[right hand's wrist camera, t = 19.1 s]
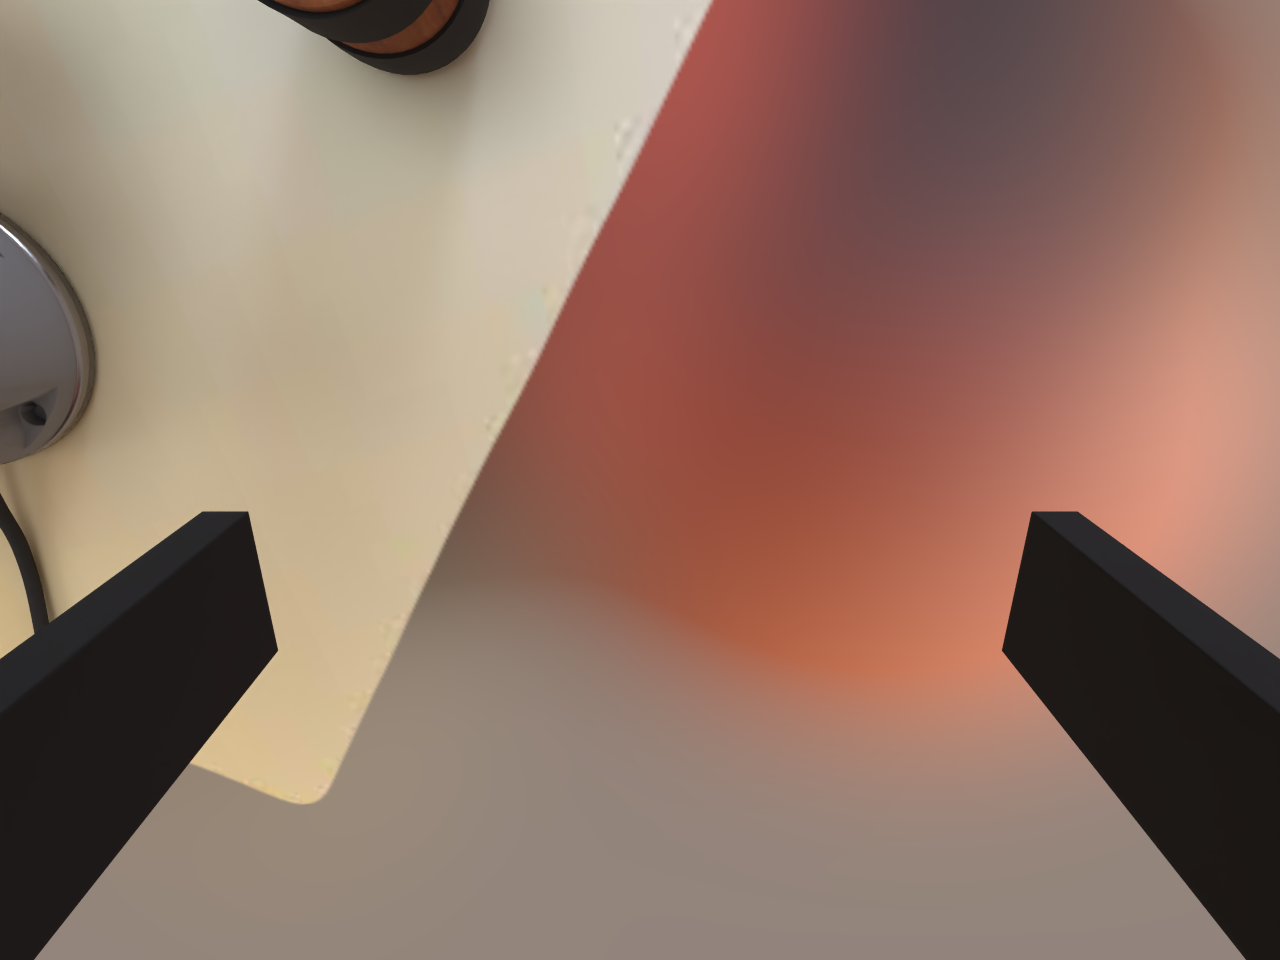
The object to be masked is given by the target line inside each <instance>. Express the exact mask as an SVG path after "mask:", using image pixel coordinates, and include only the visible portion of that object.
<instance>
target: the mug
mask: <svg viewBox="0 0 1280 960" xmlns="http://www.w3.org/2000/svg"><path fill="white" fill-rule="evenodd" d="M258 1H260V2H262V3H263V4H265V5H267V6H268V7H270V8H272V9H274V10H276V11H278V12H280V13H282V14H284V15H285V16H287V17H289V18H291V19H292V20H294V21H295V22H297V23H299V24H300V25H302V26H304V27H305V28H307V29H309V30H310V31H312V32H314V33H316V34H319V35H321V36H323V37H326V38H327V39H328V40H329V41H331V42H332V43H333V44H335V45H336V46H338V47H339V48H340V49H342V50H343V51H345V52H346V53H348V54H350V55H351V56H353V57H355V58H356V59H358V60H360V61H362V62H364V63H366V64H368V65H370V66H373V67H375V68H377V69H380V70H384V71H387V72H390V73H396V74H403V75H416V74H422V73H428V72H431V71H434V70H437V69H439V68H441V67H443V66H446V65H448V64H449V63H450V62H452V61H453V60H455V59H456V58H458V57H459V56H460V55H461V54H462V53H463V52H464V51H465V50H466V49H467V48H468V46H469V45H470V44H471V43H472V41H473V40H474V38H475V37H476V35H477V33H478V32H479V30H480V28H481V26H482V23H483V21H484V19H485V16H486V12H487V9H488V5H489V0H258Z"/></svg>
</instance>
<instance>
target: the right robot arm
mask: <svg viewBox="0 0 1280 960" xmlns="http://www.w3.org/2000/svg"><path fill="white" fill-rule="evenodd" d="M94 373H95V356H94V348H93V341H92V337H91V332H90V328H89V325H88V322H87V319H86V316H85V314H84V311H83V309H82V307H81V304H80V302H79V300H78V298H77V296H76V294H75V292H74V290H73V289H72V287H71V285H70V284H69V282H68V280H67V279H66V277H65V276H64V274H63V273H62V272H61V270H60V269H59V268H58V266H57V265H56V263H55V262H54V261H53V260H52V259H51V257H50V256H49V255H48V254H47V253H46V252H45V251H44V249H43V248H42V247H41V246H40V245H39V244H38V243H37V242H36V241H35V240H34V239H33V238H32V237H30V236H29V235H28V234H27V233H26V232H25V231H23V230H22V229H21V228H20V227H19V226H18V225H16V224H15V223H13V222H12V221H11V220H9V219H8V218H7V217H5V216H4V215H2V214H1V213H0V464H5V463H9V462H12V461H16V460H19V459H21V458H24V457H26V456H29V455H31V454H33V453H36V452H38V451H40V450H43V449H45V448H47V447H49V446H50V445H52V444H54V443H55V442H57V441H58V440H60V439H61V438H63V437H64V436H65V435H66V434H67V433H68V432H69V431H70V430H71V429H72V428H73V427H74V426H75V424H76V423H77V422H78V420H79V419H80V417H81V416H82V414H83V413H84V410H85V408H86V406H87V404H88V402H89V398H90V395H91V392H92V387H93V382H94ZM0 528H1V530H2V531H3V533H4V534H5V536H6V538H7V540H8V542H9V544H10V546H11V548H12V550H13V553H14V555H15V558H16V561H17V563H18V566H19V569H20V572H21V575H22V579H23V582H24V586H25V590H26V594H27V598H28V603H29V607H30V612H31V617H32V623H33V628H34V633H35V634H34V635H33V636H31V637H30V638H28V639H27V640H26V641H24V642H23V643H22V644H20V645H19V646H17V647H16V648H15V649H13V650H12V651H11V652H9V653H8V654H6V655H5V656H4V657H2V658H1V659H0V960H34V959H35V958H36V956H37V955H38V954H39V953H40V951H41V950H42V949H43V948H44V946H45V945H46V944H47V943H48V941H49V940H50V939H51V937H52V936H53V935H54V934H55V932H56V931H57V930H58V929H59V927H60V926H61V925H62V924H63V922H64V921H65V920H66V918H67V917H68V916H69V915H70V913H71V912H72V911H73V910H74V908H75V907H76V906H77V905H78V903H79V902H80V901H81V899H82V898H83V897H84V896H85V894H86V893H87V892H88V891H89V889H90V888H91V887H92V886H93V884H94V883H95V882H96V880H97V879H98V878H99V877H100V875H101V874H102V873H103V872H104V870H105V869H106V868H107V867H108V865H109V864H110V863H111V862H112V860H113V859H114V858H115V856H116V855H117V854H118V853H119V851H120V850H121V849H122V848H123V846H124V845H125V844H126V842H127V841H128V840H129V839H130V837H131V836H132V835H133V834H134V832H135V831H136V830H137V829H138V827H139V826H140V825H141V824H142V822H143V821H144V820H145V818H146V817H147V816H148V815H149V813H150V812H151V811H152V810H153V808H154V807H155V806H156V805H157V803H158V802H159V801H160V799H161V798H162V797H163V796H164V794H165V793H166V792H167V791H168V789H169V788H170V787H171V786H172V784H173V783H174V782H175V781H176V779H177V778H178V777H179V775H180V774H181V773H182V772H183V770H184V769H185V768H186V767H187V765H188V764H189V763H190V762H191V760H192V759H193V758H194V756H195V755H196V754H197V753H198V751H199V750H200V749H201V748H202V746H203V745H204V744H205V743H206V741H207V740H208V739H209V737H210V736H211V735H212V734H213V732H214V731H215V730H216V729H217V727H218V726H219V725H220V724H221V722H222V721H223V720H224V718H225V717H226V716H227V715H228V713H229V712H230V711H231V710H232V708H233V707H234V706H235V705H236V703H237V702H238V701H239V699H240V698H241V697H242V696H243V694H244V693H245V692H246V691H247V689H248V688H249V687H250V686H251V684H252V683H253V682H254V681H255V679H256V678H257V677H258V675H259V674H260V673H261V672H262V670H263V669H264V668H265V667H266V665H267V664H268V663H269V662H270V660H271V659H272V658H273V656H274V655H275V654H276V653H277V651H278V648H277V643H276V639H275V634H274V629H273V625H272V620H271V615H270V611H269V606H268V601H267V597H266V592H265V588H264V583H263V578H262V574H261V569H260V564H259V560H258V555H257V550H256V546H255V541H254V536H253V532H252V527H251V522H250V518H249V513H248V512H201V513H200V514H198V515H197V516H196V517H194V518H193V519H192V520H190V521H189V522H187V523H186V524H185V525H183V526H182V527H181V528H179V529H178V530H177V531H175V532H174V533H172V534H171V535H170V536H168V537H167V538H166V539H164V540H163V541H161V542H160V543H159V544H157V545H156V546H155V547H153V548H152V549H150V550H149V551H148V552H146V553H145V554H144V555H142V556H141V557H140V558H138V559H137V560H135V561H134V562H133V563H131V564H130V565H129V566H127V567H126V568H124V569H123V570H122V571H120V572H119V573H118V574H116V575H115V576H113V577H112V578H111V579H109V580H108V581H107V582H105V583H104V584H102V585H101V586H100V587H98V588H97V589H96V590H94V591H93V592H92V593H90V594H89V595H87V596H86V597H85V598H83V599H82V600H81V601H79V602H78V603H76V604H75V605H74V606H72V607H71V608H70V609H68V610H67V611H65V612H64V613H63V614H61V615H60V616H59V617H57V618H56V619H54V620H53V621H52V622H50V623H49V621H48V615H47V610H46V605H45V600H44V595H43V590H42V586H41V582H40V578H39V574H38V571H37V567H36V564H35V561H34V558H33V555H32V553H31V550H30V547H29V545H28V542H27V540H26V538H25V536H24V534H23V532H22V530H21V528H20V527H19V525H18V523H17V522H16V520H15V518H14V517H13V515H12V513H11V512H10V510H9V508H8V507H7V505H6V503H5V501H4V499H3V497H2V495H1V494H0ZM1002 651H1003V653H1004V654H1005V655H1006V656H1007V658H1008V659H1009V660H1010V662H1011V663H1012V664H1013V665H1014V667H1015V668H1016V669H1017V670H1018V672H1019V673H1020V674H1021V675H1022V677H1023V678H1024V679H1025V681H1026V682H1027V683H1028V684H1029V686H1030V687H1031V688H1032V689H1033V691H1034V692H1035V693H1036V694H1037V696H1038V697H1039V698H1040V699H1041V701H1042V702H1043V703H1044V705H1045V706H1046V707H1047V708H1048V710H1049V711H1050V712H1051V713H1052V715H1053V716H1054V717H1055V718H1056V720H1057V721H1058V722H1059V724H1060V725H1061V726H1062V727H1063V729H1064V730H1065V731H1066V732H1067V734H1068V735H1069V736H1070V737H1071V739H1072V740H1073V741H1074V742H1075V744H1076V745H1077V746H1078V748H1079V749H1080V750H1081V751H1082V753H1083V754H1084V755H1085V756H1086V758H1087V759H1088V760H1089V762H1090V763H1091V764H1092V765H1093V767H1094V768H1095V769H1096V770H1097V772H1098V773H1099V774H1100V775H1101V777H1102V778H1103V779H1104V780H1105V782H1106V783H1107V784H1108V786H1109V787H1110V788H1111V789H1112V791H1113V792H1114V793H1115V794H1116V796H1117V797H1118V798H1119V799H1120V801H1121V802H1122V803H1123V805H1124V806H1125V807H1126V808H1127V810H1128V811H1129V812H1130V813H1131V815H1132V816H1133V817H1134V818H1135V820H1136V821H1137V822H1138V824H1139V825H1140V826H1141V827H1142V829H1143V830H1144V831H1145V832H1146V834H1147V835H1148V836H1149V837H1150V839H1151V840H1152V841H1153V843H1154V844H1155V845H1156V846H1157V848H1158V849H1159V850H1160V851H1161V853H1162V854H1163V855H1164V856H1165V858H1166V859H1167V860H1168V862H1169V863H1170V864H1171V865H1172V867H1173V868H1174V869H1175V870H1176V872H1177V873H1178V874H1179V875H1180V877H1181V878H1182V879H1183V881H1184V882H1185V883H1186V884H1187V885H1188V887H1189V888H1190V889H1191V891H1192V892H1193V893H1194V894H1195V896H1196V897H1197V898H1198V899H1199V901H1200V902H1201V903H1202V905H1203V906H1204V907H1205V908H1206V910H1207V911H1208V912H1209V913H1210V915H1211V916H1212V917H1213V918H1214V920H1215V921H1216V922H1217V924H1218V925H1219V926H1220V927H1221V929H1222V930H1223V931H1224V932H1225V934H1226V935H1227V936H1228V937H1229V939H1230V940H1231V941H1232V943H1233V944H1234V945H1235V946H1236V948H1237V949H1238V950H1239V951H1240V953H1241V954H1242V955H1243V956H1244V958H1245V959H1246V960H1280V659H1279V658H1278V657H1276V656H1275V655H1274V654H1272V653H1271V652H1269V651H1268V650H1267V649H1265V648H1264V647H1262V646H1261V645H1260V644H1258V643H1257V642H1256V641H1254V640H1253V639H1252V638H1250V637H1249V636H1247V635H1246V634H1245V633H1243V632H1242V631H1241V630H1239V629H1238V628H1236V627H1235V626H1234V625H1232V624H1231V623H1230V622H1228V621H1227V620H1225V619H1224V618H1223V617H1221V616H1220V615H1219V614H1217V613H1216V612H1215V611H1213V610H1212V609H1210V608H1209V607H1208V606H1206V605H1205V604H1204V603H1202V602H1201V601H1199V600H1198V599H1197V598H1195V597H1194V596H1193V595H1191V594H1190V593H1188V592H1187V591H1186V590H1184V589H1183V588H1182V587H1180V586H1179V585H1178V584H1176V583H1175V582H1173V581H1172V580H1171V579H1169V578H1168V577H1167V576H1165V575H1164V574H1162V573H1161V572H1160V571H1158V570H1157V569H1156V568H1154V567H1153V566H1151V565H1150V564H1149V563H1147V562H1146V561H1145V560H1143V559H1142V558H1140V557H1139V556H1138V555H1136V554H1135V553H1134V552H1132V551H1131V550H1130V549H1128V548H1127V547H1125V546H1124V545H1123V544H1121V543H1120V542H1118V541H1117V540H1116V539H1114V538H1113V537H1112V536H1110V535H1109V534H1108V533H1106V532H1105V531H1103V530H1102V529H1101V528H1099V527H1098V526H1097V525H1095V524H1094V523H1092V522H1091V521H1090V520H1088V519H1087V518H1086V517H1084V516H1083V515H1082V514H1080V513H1079V512H1032V513H1031V518H1030V522H1029V527H1028V532H1027V536H1026V541H1025V546H1024V550H1023V555H1022V560H1021V564H1020V569H1019V574H1018V578H1017V583H1016V588H1015V592H1014V597H1013V601H1012V606H1011V611H1010V615H1009V620H1008V625H1007V629H1006V634H1005V639H1004V643H1003V648H1002Z"/></svg>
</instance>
